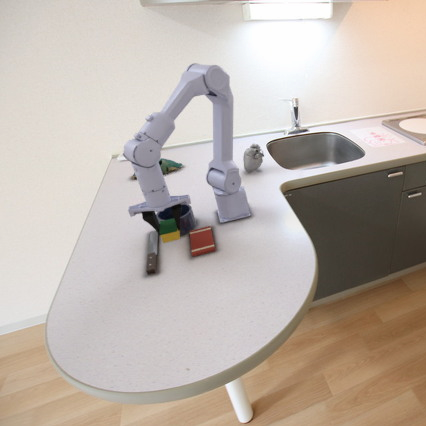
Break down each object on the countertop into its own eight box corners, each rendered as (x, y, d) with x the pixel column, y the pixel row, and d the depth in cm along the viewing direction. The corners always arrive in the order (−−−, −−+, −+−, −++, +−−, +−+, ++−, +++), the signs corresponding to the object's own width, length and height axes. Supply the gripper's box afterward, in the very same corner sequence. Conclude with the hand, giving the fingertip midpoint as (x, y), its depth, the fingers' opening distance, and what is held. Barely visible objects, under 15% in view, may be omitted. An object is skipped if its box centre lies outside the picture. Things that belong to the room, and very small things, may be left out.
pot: (195, 215, 101) (190, 200, 98) (197, 231, 93) (192, 215, 90) (161, 222, 98) (156, 207, 95) (161, 239, 90) (155, 224, 87)
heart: (252, 162, 135) (245, 137, 127) (270, 165, 131) (264, 140, 123) (239, 175, 129) (229, 149, 121) (257, 178, 125) (249, 153, 117)
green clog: (132, 172, 131) (128, 160, 129) (183, 164, 138) (180, 153, 135) (131, 181, 124) (127, 169, 121) (184, 173, 131) (181, 161, 128)
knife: (158, 231, 94) (156, 227, 93) (156, 272, 78) (154, 268, 78) (150, 233, 93) (148, 229, 92) (147, 275, 78) (145, 271, 77)
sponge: (179, 227, 88) (176, 217, 87) (180, 239, 84) (176, 228, 82) (163, 231, 87) (159, 221, 85) (163, 243, 82) (159, 232, 81)
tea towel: (210, 227, 94) (210, 225, 94) (215, 250, 85) (214, 248, 85) (190, 232, 93) (189, 230, 92) (192, 256, 83) (191, 254, 83)
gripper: (119, 200, 72) (139, 246, 79) (185, 187, 76) (198, 232, 84) (122, 187, 78) (141, 231, 85) (184, 176, 82) (196, 219, 89)
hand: (170, 231), depth 85 cm, fingers closed on sponge, 4 cm apart
